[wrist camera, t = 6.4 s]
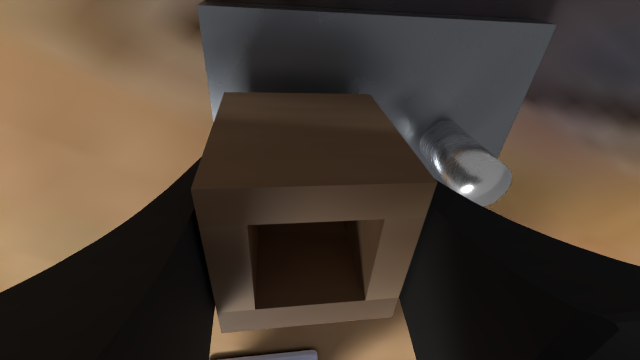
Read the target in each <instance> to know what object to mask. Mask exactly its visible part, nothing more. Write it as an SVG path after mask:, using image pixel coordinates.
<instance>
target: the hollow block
mask: <svg viewBox="0 0 640 360" xmlns="http://www.w3.org/2000/svg"><path fill="white" fill-rule="evenodd" d="M436 185H437V181H436V180H435V179H434V177H433V176H432V175H431V174H430V172H429V171H428V170H427V168H426V167H425V166H424V164H423V163H422V162H421V160H420V159H419V158H418V156H417V155H416V154H415V153H414V151H413V150H412V149H411V147H410V146H409V145H408V143H407V142H406V141H405V139H404V138H403V137H402V135H401V134H400V133H399V132H398V130H397V129H396V128H395V126H394V125H393V124H392V122H391V121H390V120H389V118H388V117H387V116H386V114H385V113H384V112H383V111H382V109H381V108H380V107H379V105H378V104H377V103H376V101H375V100H374V99H373V97H372V96H371V95H370V94H321V93H255V92H224V94H223V97H222V100H221V103H220V106H219V109H218V111H217V114H216V117H215V120H214V123H213V126H212V129H211V132H210V135H209V138H208V141H207V143H206V146H205V149H204V152H203V155H202V158H201V161H200V164H199V167H198V170H197V173H196V175H195V178H194V181H193V184H192V187H191V193H192V198H193V202H194V207H195V212H196V216H197V221H198V226H199V230H200V235H201V240H202V244H203V249H204V254H205V258H206V263H207V268H208V272H209V277H210V282H211V286H212V291H213V296H214V300H215V305H216V310H217V314H218V319H219V324H220V328H221V333H227V332H238V331H249V330H260V329H271V328H282V327H292V326H303V325H314V324H325V323H336V322H346V321H357V320H368V319H379V318H390V317H392V316H393V313H394V310H395V307H396V304H397V301H398V298H399V295H400V292H401V289H402V286H403V283H404V280H405V277H406V274H407V271H408V268H409V265H410V262H411V259H412V256H413V253H414V250H415V247H416V245H417V242H418V239H419V236H420V233H421V230H422V227H423V224H424V221H425V218H426V215H427V212H428V209H429V206H430V203H431V200H432V197H433V194H434V191H435V188H436Z"/></svg>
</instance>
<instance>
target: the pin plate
mask: <svg viewBox="0 0 640 360" xmlns="http://www.w3.org/2000/svg"><path fill="white" fill-rule="evenodd" d="M197 8H198V16H199V23H200V30H201V37H202V44H203V51H204V58H205V65H206V72H207V79H208V86H209V94H210V101H211V108H212V115H213V122H214V120H215V117H216V114H217V111H218V109H219V106H220V103H221V100H222V97H223V94H224V92H255V93H321V94H370V95H371V96H372V97H373V99H374V100H375V101H376V103H377V104H378V105H379V107H380V108H381V109H382V111H383V112H384V113H385V114H386V116H387V117H388V118H389V120H390V121H391V122H392V124H393V125H394V126H395V128H396V129H397V130H398V132H399V133H400V134H401V135H402V137H403V138H404V139H405V141H406V142H407V143H408V145H409V146H410V147H411V149H412V150H413V151H414V153H415V154H416V155H417V156H418V158H419V159H420V160H421V162H422V163H423V164H424V166H425V167H426V168H427V170H428V171H429V172H430V174H431V175H432V176H433V177H434V178H435V179H436V180H438V181H439V182H441V183H442V184H444V185H446V186H447V187H449V188H451V189H452V190H454V191H456V192H457V193H459V194H461V195H462V196H464V197H466V198H468V199H469V200H471V201H473V202H475V203H477V204H479V205H480V206H482V207H484V206H487V205H489V204H492V203H493V202H495V201H497V200H498V199H499V198H500V197H502V196H503V195H504V194H505V192H506V191H507V190H508V188H509V186H510V184H511V181H512V174H511V171H510V169H509V168H508V167H506V166H505V165H504V164H503V163H502V162H501V161H500V160H498V159H497V158H498V156H499V153H500V151H501V149H502V147H503V145H504V142H505V140H506V138H507V136H508V133H509V131H510V129H511V127H512V124H513V122H514V120H515V118H516V115H517V113H518V111H519V109H520V106H521V104H522V102H523V100H524V97H525V95H526V93H527V91H528V89H529V86H530V84H531V82H532V80H533V77H534V75H535V73H536V71H537V68H538V66H539V64H540V62H541V59H542V57H543V55H544V53H545V50H546V48H547V46H548V44H549V41H550V39H551V37H552V35H553V33H554V30H555V28H556V26H557V25H556V24H552V23H547V22H543V21H538V20H534V19H517V18H499V17H481V16H464V15H446V14H428V13H410V12H392V11H375V10H357V9H339V8H321V7H304V6H286V5H268V4H250V3H232V2H215V1H203V2H201V3H200V4H198V5H197Z"/></svg>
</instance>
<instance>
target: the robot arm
mask: <svg viewBox="0 0 640 360" xmlns="http://www.w3.org/2000/svg"><path fill="white" fill-rule="evenodd" d="M201 158H202V157H201ZM201 158H200V159H199V160H198V161H197V162H196V163H194V164H193V165H192V166H191V167H190V168H189V169H188V170H187V171H186V172H185V173H184V174H183V175H182V176H181V177H180V178H179V179H178V180H176V181H175V182H174V183H173V184H172V185H171V186H170V187H169V188H168V189H167V190H165V191H164V192H163V193H162V194H160V195H159V196H158V197H157V198H156V199H154V200H153V201H152V202H151V203H149V204H148V205H147V206H146V207H144V208H143V209H142V210H141V211H139V212H138V213H137V214H135V215H134V216H133V217H131V218H130V219H129V220H127V221H126V222H124V223H123V224H121V225H120V226H118V227H117V228H115V229H114V230H112V231H111V232H109V233H108V234H106V235H105V236H103V237H102V238H100V239H99V240H97V241H95V242H94V243H92V244H90V245H88V246H87V247H85V248H83V249H82V250H80V251H78V252H76V253H75V254H73V255H71V256H69V257H68V258H66V259H64V260H63V261H61V262H59V263H57V264H56V265H54V266H52V267H50V268H48V269H46V270H44V271H43V272H41V273H39V274H37V275H35V276H33V277H31V278H29V279H27V280H25V281H23V282H21V283H19V284H17V285H15V286H13V287H11V288H9V289H7V290H5V291H3V292H1V293H0V360H209V353H210V344H211V335H212V326H213V317H214V310H215V300H214V296H213V291H212V286H211V282H210V277H209V272H208V268H207V263H206V258H205V254H204V249H203V244H202V240H201V235H200V230H199V226H198V221H197V216H196V212H195V207H194V202H193V198H192V193H191V187H192V184H193V181H194V178H195V175H196V173H197V170H198V167H199V164H200V161H201ZM434 179H435V178H434ZM435 180H436V179H435ZM436 181H437V185H436V188H435V191H434V194H433V197H432V200H431V203H430V206H429V209H428V212H427V215H426V218H425V221H424V224H423V227H422V230H421V233H420V236H419V239H418V242H417V245H416V247H415V250H414V253H413V256H412V259H411V262H410V265H409V268H408V271H407V274H406V277H405V280H404V283H403V286H402V289H401V292H400V295H399V299H400V303H401V306H402V309H403V313H404V316H405V320H406V323H407V326H408V330H409V333H410V337H411V341H412V345H413V348H414V352H415V356H416V359H417V360H640V266H637V265H633V264H630V263H626V262H622V261H619V260H616V259H613V258H609V257H606V256H603V255H600V254H597V253H594V252H591V251H588V250H585V249H582V248H579V247H576V246H574V245H571V244H568V243H565V242H563V241H560V240H557V239H555V238H552V237H549V236H547V235H545V234H542V233H540V232H537V231H535V230H532V229H530V228H527V227H525V226H523V225H520V224H518V223H516V222H513V221H511V220H509V219H507V218H505V217H503V216H501V215H499V214H497V213H495V212H492V211H490V210H488V209H486V208H484V207H482V206H480V205H479V204H477V203H475V202H473V201H471V200H469V199H468V198H466V197H464V196H462V195H461V194H459V193H457V192H456V191H454V190H452V189H451V188H449V187H447V186H446V185H444V184H442V183H441V182H439V181H438V180H436ZM317 358H318V356H317V352H316V351H315V350H305V351H296V352H286V353H277V354H267V355H258V356H248V357H238V358H229V359H219V360H317Z"/></svg>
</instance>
